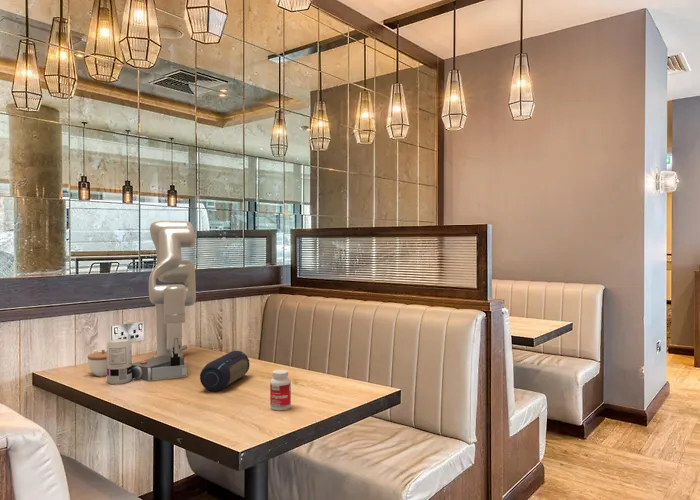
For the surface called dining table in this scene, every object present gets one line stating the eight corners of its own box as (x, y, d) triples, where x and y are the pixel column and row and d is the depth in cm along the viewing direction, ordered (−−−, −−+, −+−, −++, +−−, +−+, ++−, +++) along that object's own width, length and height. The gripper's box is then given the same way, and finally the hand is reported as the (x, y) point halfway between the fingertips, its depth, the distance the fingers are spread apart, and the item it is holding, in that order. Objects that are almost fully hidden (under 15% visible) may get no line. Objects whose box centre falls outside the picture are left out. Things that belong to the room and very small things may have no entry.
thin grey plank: (186, 375, 193) (186, 364, 192) (186, 376, 191) (186, 365, 191) (152, 379, 188) (151, 368, 188) (152, 380, 187) (152, 368, 187)
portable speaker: (224, 394, 170) (224, 364, 170) (196, 393, 172) (196, 363, 172) (253, 375, 195) (252, 348, 195) (228, 374, 197) (228, 348, 197)
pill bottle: (268, 411, 153) (268, 374, 153) (272, 404, 159) (271, 369, 159) (289, 411, 153) (289, 373, 153) (292, 404, 159) (291, 368, 159)
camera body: (164, 367, 208) (164, 353, 208) (186, 370, 203) (186, 356, 203) (125, 378, 191) (124, 363, 191) (147, 382, 186) (147, 366, 186)
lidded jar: (124, 370, 203) (123, 347, 203) (108, 378, 192) (108, 353, 192) (98, 370, 204) (98, 346, 204) (81, 377, 193) (81, 352, 193)
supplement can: (102, 383, 185) (101, 341, 185) (121, 377, 192) (121, 337, 192) (117, 385, 181) (116, 343, 181) (136, 380, 189) (136, 339, 188)
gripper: (162, 317, 199) (163, 364, 199) (165, 321, 185) (166, 372, 185) (182, 316, 202) (183, 362, 202) (187, 320, 188) (187, 370, 188)
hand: (175, 367), depth 194 cm, fingers closed
